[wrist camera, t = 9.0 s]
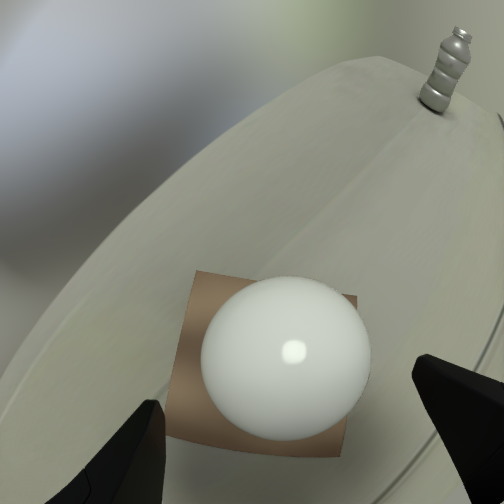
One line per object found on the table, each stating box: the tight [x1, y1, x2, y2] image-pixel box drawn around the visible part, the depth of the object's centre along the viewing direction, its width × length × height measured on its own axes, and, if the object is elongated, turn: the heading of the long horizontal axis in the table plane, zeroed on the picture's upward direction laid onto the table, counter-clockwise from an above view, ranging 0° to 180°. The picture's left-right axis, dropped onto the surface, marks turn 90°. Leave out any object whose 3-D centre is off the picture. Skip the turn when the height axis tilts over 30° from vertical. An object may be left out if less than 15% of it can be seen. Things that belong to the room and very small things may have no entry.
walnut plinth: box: [164, 270, 357, 457], centre depth 18 cm, size 12×12×2 cm
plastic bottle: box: [420, 26, 472, 112], centre depth 32 cm, size 6×7×20 cm
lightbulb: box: [200, 276, 372, 441], centre depth 12 cm, size 6×6×11 cm
